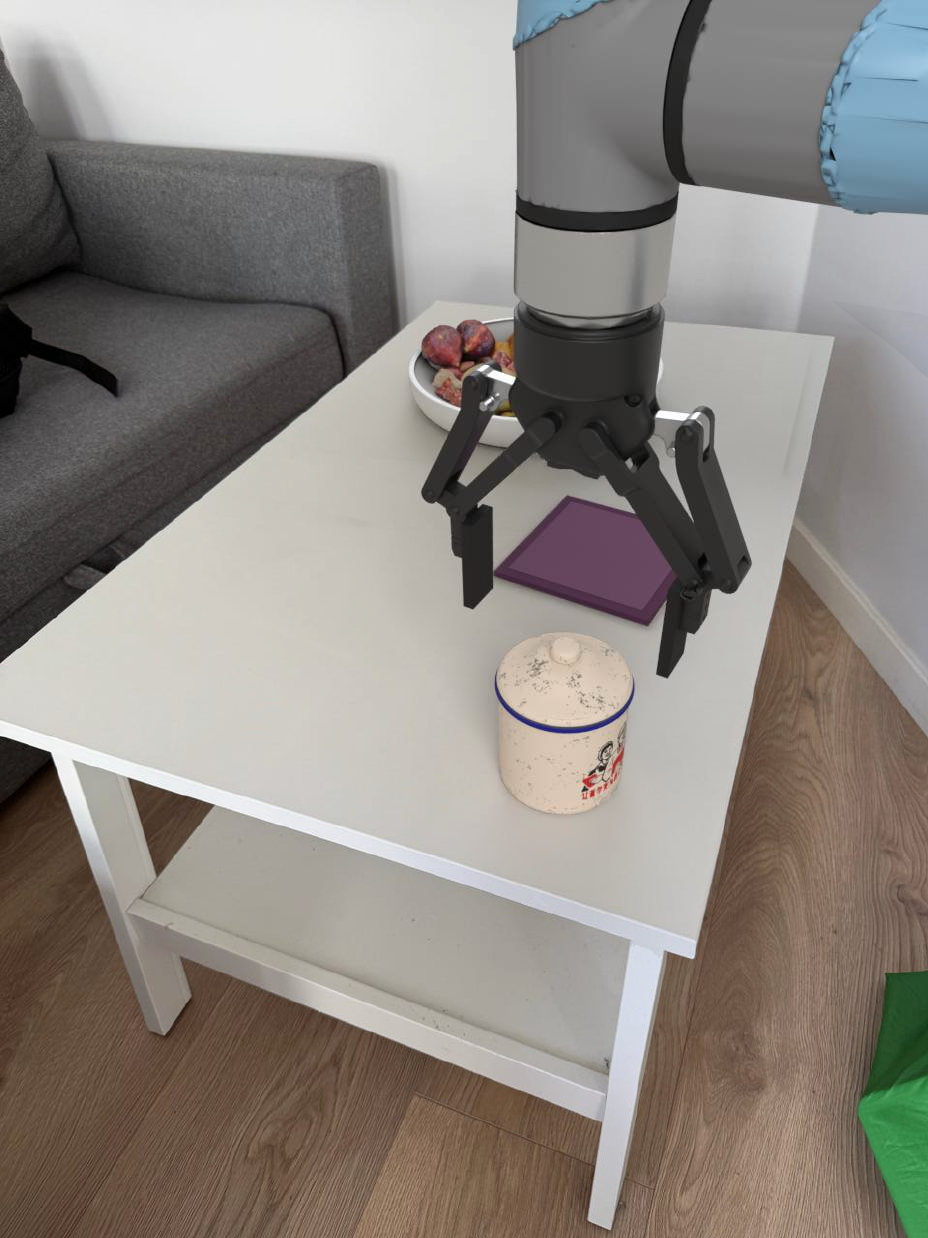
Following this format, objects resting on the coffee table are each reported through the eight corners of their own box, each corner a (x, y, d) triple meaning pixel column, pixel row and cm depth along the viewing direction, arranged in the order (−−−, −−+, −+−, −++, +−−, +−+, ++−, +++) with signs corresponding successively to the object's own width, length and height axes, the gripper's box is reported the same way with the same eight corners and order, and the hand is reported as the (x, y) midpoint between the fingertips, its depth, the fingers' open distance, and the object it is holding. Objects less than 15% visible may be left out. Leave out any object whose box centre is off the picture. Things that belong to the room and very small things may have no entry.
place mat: (709, 538, 87) (709, 533, 86) (648, 626, 77) (648, 620, 77) (566, 499, 93) (567, 494, 93) (493, 576, 83) (493, 570, 83)
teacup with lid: (605, 836, 60) (617, 709, 53) (477, 798, 63) (472, 673, 56) (648, 715, 69) (663, 592, 62) (533, 687, 72) (535, 565, 64)
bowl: (681, 367, 117) (689, 306, 112) (627, 480, 96) (633, 411, 91) (464, 341, 126) (461, 284, 121) (369, 440, 105) (362, 375, 100)
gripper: (867, 317, 43) (780, 658, 56) (421, 243, 53) (437, 546, 66) (826, 378, 38) (741, 736, 51) (342, 283, 48) (377, 601, 61)
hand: (569, 629), depth 59 cm, fingers open, 13 cm apart
